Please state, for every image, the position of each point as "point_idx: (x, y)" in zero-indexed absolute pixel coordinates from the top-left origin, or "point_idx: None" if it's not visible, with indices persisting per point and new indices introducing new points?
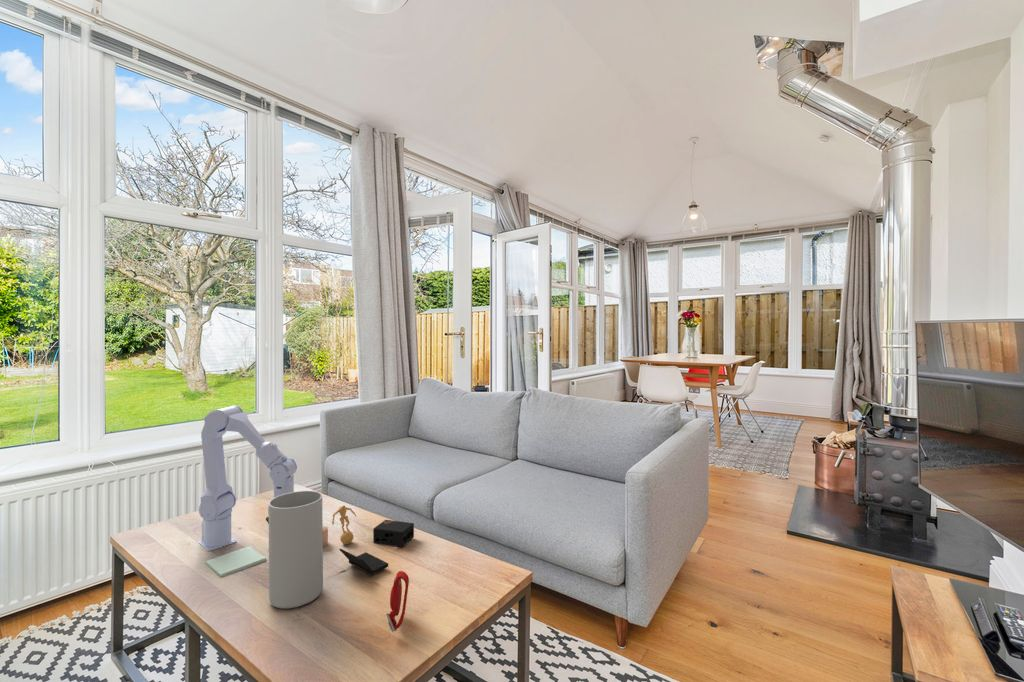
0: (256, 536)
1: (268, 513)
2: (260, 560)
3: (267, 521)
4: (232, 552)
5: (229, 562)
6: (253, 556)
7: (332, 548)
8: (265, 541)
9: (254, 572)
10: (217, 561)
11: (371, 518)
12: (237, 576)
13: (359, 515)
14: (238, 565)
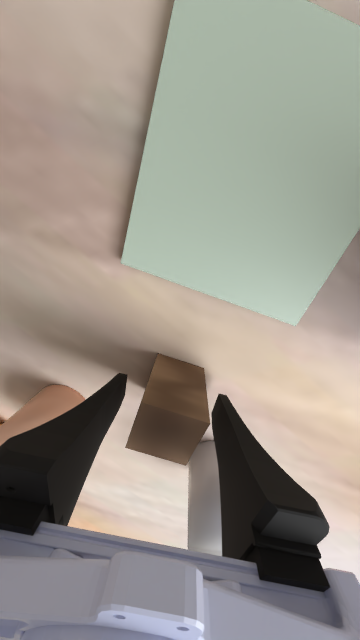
0: (338, 405)
1: (354, 585)
2: (128, 236)
3: (293, 485)
4: (339, 246)
5: (265, 137)
6: (188, 250)
7: (10, 399)
8: (269, 385)
9: (74, 149)
10: (358, 112)
11: (85, 524)
12: (113, 64)
13: (126, 531)
14: (180, 130)
